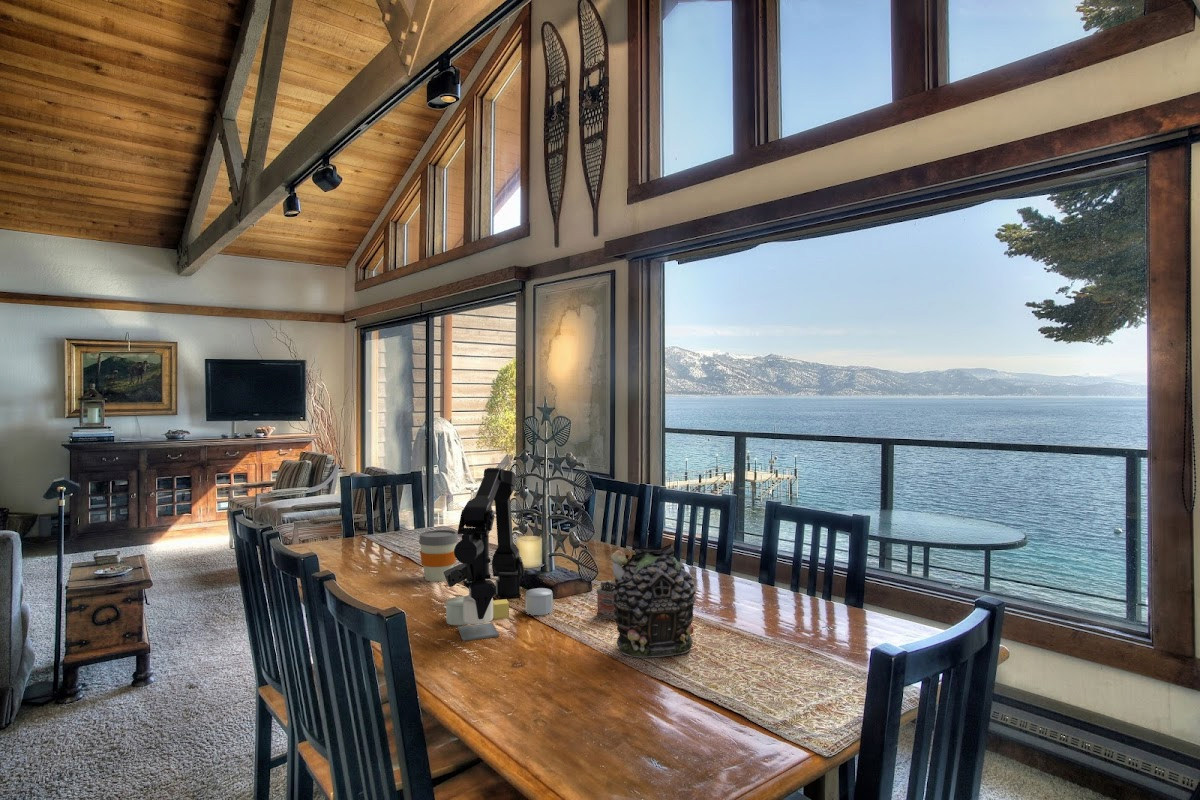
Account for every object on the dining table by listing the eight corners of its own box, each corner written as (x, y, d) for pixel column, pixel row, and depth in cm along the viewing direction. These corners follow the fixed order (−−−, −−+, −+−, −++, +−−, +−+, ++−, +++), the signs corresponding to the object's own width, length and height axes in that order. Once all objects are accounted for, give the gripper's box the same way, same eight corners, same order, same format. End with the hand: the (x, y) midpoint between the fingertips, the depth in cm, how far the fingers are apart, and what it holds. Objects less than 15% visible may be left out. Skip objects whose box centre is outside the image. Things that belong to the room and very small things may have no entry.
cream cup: (490, 612, 175) (489, 592, 175) (495, 621, 168) (495, 600, 168) (461, 616, 173) (461, 595, 173) (465, 625, 166) (465, 603, 166)
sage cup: (472, 614, 184) (472, 595, 184) (476, 623, 177) (476, 602, 177) (445, 618, 182) (444, 598, 182) (448, 626, 175) (448, 605, 175)
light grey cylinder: (548, 605, 192) (548, 587, 192) (555, 613, 185) (555, 594, 185) (523, 608, 189) (523, 589, 189) (529, 616, 182) (529, 597, 182)
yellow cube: (506, 613, 186) (506, 599, 186) (509, 617, 182) (509, 603, 182) (492, 614, 185) (492, 600, 185) (494, 619, 181) (494, 604, 181)
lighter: (594, 617, 182) (594, 580, 182) (600, 613, 185) (600, 577, 185) (620, 621, 178) (620, 584, 178) (626, 617, 181) (626, 581, 181)
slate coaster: (492, 624, 176) (492, 622, 176) (498, 636, 168) (498, 634, 168) (458, 629, 173) (458, 626, 173) (463, 641, 164) (462, 638, 164)
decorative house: (622, 666, 149) (621, 555, 148) (604, 642, 163) (603, 541, 163) (707, 656, 154) (707, 549, 154) (682, 633, 169) (682, 536, 168)
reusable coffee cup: (416, 575, 226) (416, 531, 226) (453, 571, 231) (452, 528, 231) (423, 585, 214) (422, 538, 214) (461, 580, 220) (461, 535, 219)
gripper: (441, 548, 176) (442, 607, 176) (450, 565, 159) (450, 630, 159) (483, 545, 180) (484, 602, 180) (496, 561, 162) (496, 624, 163)
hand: (478, 614), depth 170 cm, fingers closed on cream cup, 7 cm apart
